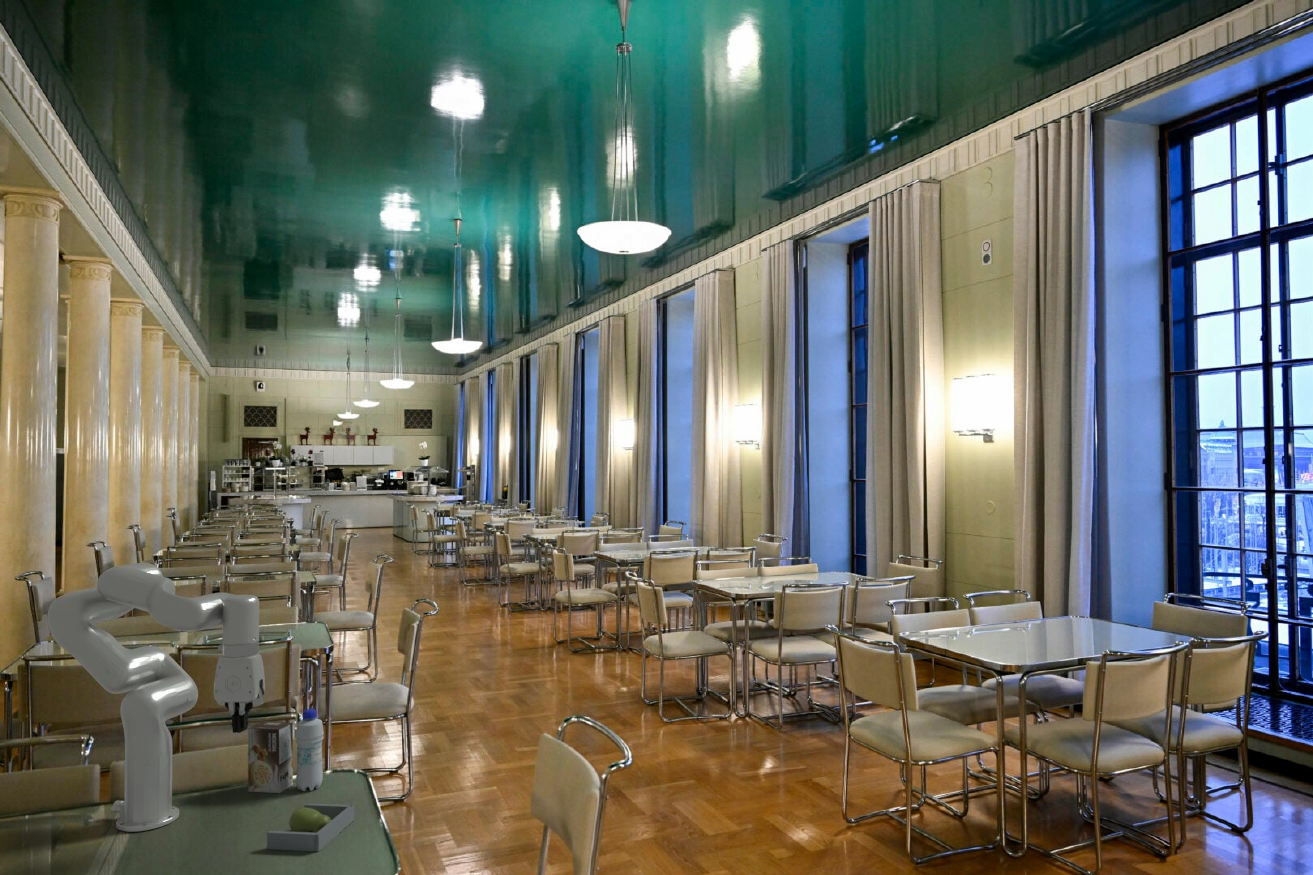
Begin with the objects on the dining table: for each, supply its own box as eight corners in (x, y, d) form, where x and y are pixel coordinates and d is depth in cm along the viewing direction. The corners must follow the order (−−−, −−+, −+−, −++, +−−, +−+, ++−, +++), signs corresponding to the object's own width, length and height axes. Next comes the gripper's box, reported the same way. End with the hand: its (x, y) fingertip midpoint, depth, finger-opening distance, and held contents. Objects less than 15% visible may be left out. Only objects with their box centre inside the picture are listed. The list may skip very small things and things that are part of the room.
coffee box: (294, 784, 219) (294, 721, 220) (279, 793, 213) (279, 729, 214) (262, 782, 221) (262, 720, 221) (246, 791, 215) (246, 727, 215)
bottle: (313, 793, 213) (313, 713, 213) (289, 792, 214) (290, 712, 215) (328, 784, 219) (329, 706, 220) (305, 782, 221) (306, 704, 221)
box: (267, 849, 182) (267, 832, 182) (306, 818, 198) (306, 803, 198) (318, 851, 181) (318, 834, 181) (354, 820, 196) (354, 805, 197)
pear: (300, 801, 194) (340, 811, 192) (297, 824, 194) (336, 834, 192) (286, 810, 188) (327, 821, 187) (282, 834, 188) (323, 845, 187)
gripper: (199, 652, 191) (198, 735, 190) (261, 654, 189) (261, 737, 188) (220, 645, 198) (219, 725, 198) (280, 646, 197) (280, 726, 196)
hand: (240, 730), depth 193 cm, fingers closed
